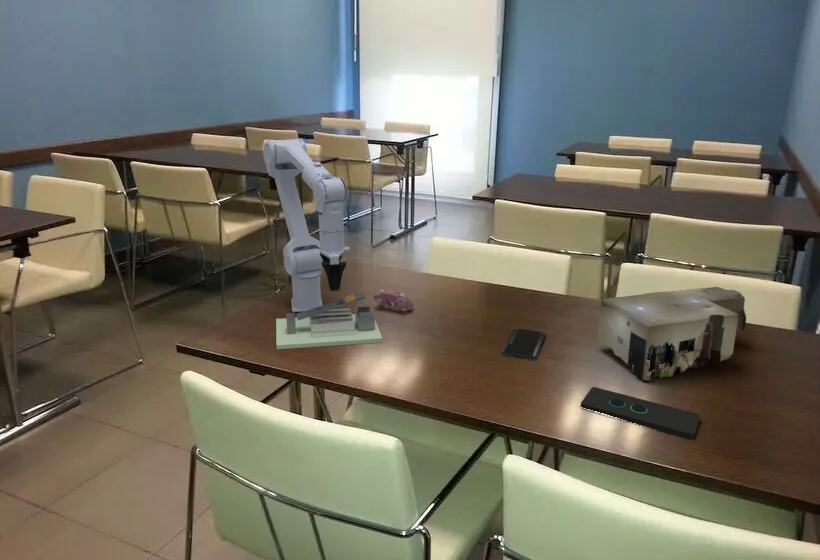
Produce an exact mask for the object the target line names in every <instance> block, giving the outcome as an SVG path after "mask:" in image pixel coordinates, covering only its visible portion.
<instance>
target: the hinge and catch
mask: <svg viewBox="0 0 820 560" xmlns="http://www.w3.org/2000/svg"><path fill="white" fill-rule="evenodd" d="M354 314H355V323H356V326H357V329H358V331H372V330H375V321H376V318H375V315H374V312H373V310H372V308H371V306H370V304H359V305H358V304H357V305H356V309H355V310H354ZM285 316H286V317H285V318H286V319H287V334H296V324H295V318H296V312H291V313H285Z"/></svg>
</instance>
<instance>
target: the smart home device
mask: <svg viewBox="0 0 820 560" xmlns="http://www.w3.org/2000/svg"><path fill="white" fill-rule="evenodd" d="M581 407H583V408H586V409H590V410H593V411H597V412H600V413H604V414H607V415H610V416H613V417H617V418H620V419H623V420H626V421H629V422H632V423H631V424H633V423H636V424H635V425H637V424H639V425H638V426H640V425H642V426H641V427H644V426H646V427H645V428H647V427H649V428H648V429H651V428H652V430H654V429H656V430H655V431H657V432H661V433H665V432H666V434H669V435H674V436H676V437H681V438H684V439H686V440H687V439H688V440H694V437H695V435H696V432H697V429H698V425H699V423H700V419H701V415H700V414H699V413H696V412H692V411H689V410H684V409H682V408H677V407H674V406H669V405H666V404H662V403H657V402H654V401H650V400H647V399H642V398H638V397H635V396H631V395H626V394H624V393H619V392H616V391H611V390H609V389H604V388H600V387H596V386H593V387H591V388H590V389H589V390H588V392H587V394H586V395H585V397H584V398H583V399H582V400H581V402H580V408H581ZM626 421H625V422H626ZM629 422H628V423H629Z"/></svg>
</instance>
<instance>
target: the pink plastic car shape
mask: <svg viewBox="0 0 820 560" xmlns="http://www.w3.org/2000/svg"><path fill="white" fill-rule="evenodd" d="M373 299H374V301H376V303H378V305H381V307H383V308H384V309H385V310H390V309H391V308H393V310H394V311H396V312H401V311H402V309H404V310H407V311H412V310H414V307H415V306H414V302H413V301H412V300H411V299H410V298H409V297H408V296H407V295H406V294H405V293H403V292H399V291H396V290H394V289H385V290H384V289H382V288H381V289H380V290H378V291H377V292H376V293H375V294H374V296H373ZM392 304H393V305H392Z"/></svg>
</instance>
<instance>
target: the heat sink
mask: <svg viewBox="0 0 820 560" xmlns="http://www.w3.org/2000/svg"><path fill="white" fill-rule="evenodd" d="M351 311H352V310H351V308H340V309H339V308H335V309H332V310H329V311H326V312H323V313H320V314H317V315H314V316H311V317H309V320H310V328H311V336H312V338H314V337H330V336H345V335H355V325H354V321H353V317H352V314H353V312H351Z"/></svg>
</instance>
